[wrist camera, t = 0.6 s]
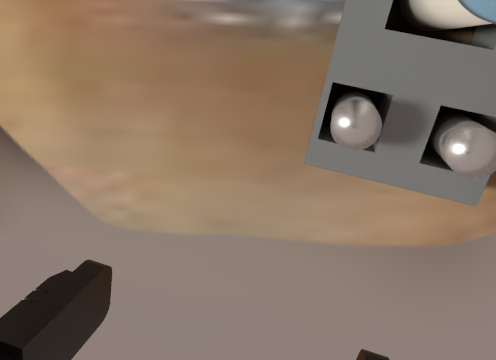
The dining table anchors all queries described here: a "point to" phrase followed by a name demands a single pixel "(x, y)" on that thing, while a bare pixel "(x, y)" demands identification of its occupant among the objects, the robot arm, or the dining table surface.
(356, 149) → the plunger
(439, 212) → the dining table surface
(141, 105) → the dining table surface
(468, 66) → the housing
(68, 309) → the robot arm
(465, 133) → the plunger
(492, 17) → the tumbler with domed lid
